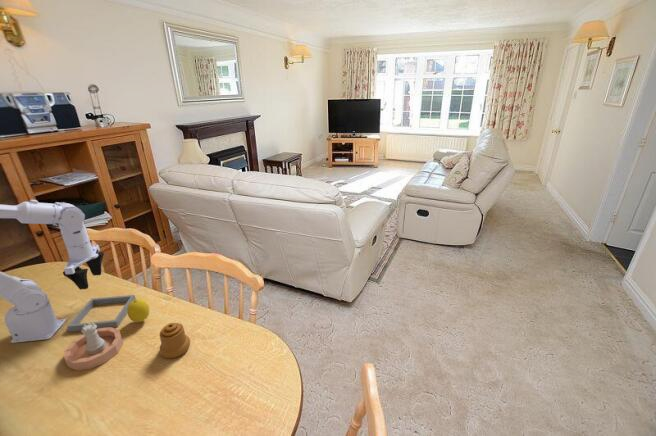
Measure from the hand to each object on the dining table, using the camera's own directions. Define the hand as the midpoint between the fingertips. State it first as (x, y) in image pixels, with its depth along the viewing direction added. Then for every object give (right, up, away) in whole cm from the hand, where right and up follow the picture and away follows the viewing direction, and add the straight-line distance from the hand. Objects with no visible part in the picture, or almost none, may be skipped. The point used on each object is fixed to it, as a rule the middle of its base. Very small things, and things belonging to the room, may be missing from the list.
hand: (90, 281), depth 95 cm
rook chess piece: (+13, -16, -14) cm, 24 cm away
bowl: (+12, -16, -14) cm, 24 cm away
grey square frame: (+5, -10, 0) cm, 11 cm away
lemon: (+18, -12, -3) cm, 21 cm away
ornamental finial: (+33, -16, -13) cm, 39 cm away
